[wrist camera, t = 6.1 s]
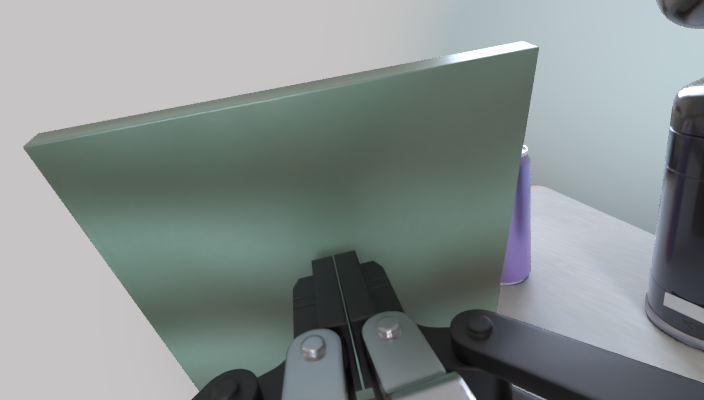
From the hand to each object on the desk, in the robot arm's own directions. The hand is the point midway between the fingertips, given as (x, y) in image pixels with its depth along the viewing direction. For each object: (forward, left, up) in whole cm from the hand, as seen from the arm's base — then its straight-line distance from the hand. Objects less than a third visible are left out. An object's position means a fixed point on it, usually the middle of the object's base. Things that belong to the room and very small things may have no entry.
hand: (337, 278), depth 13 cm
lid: (-1, -2, -1) cm, 3 cm away
